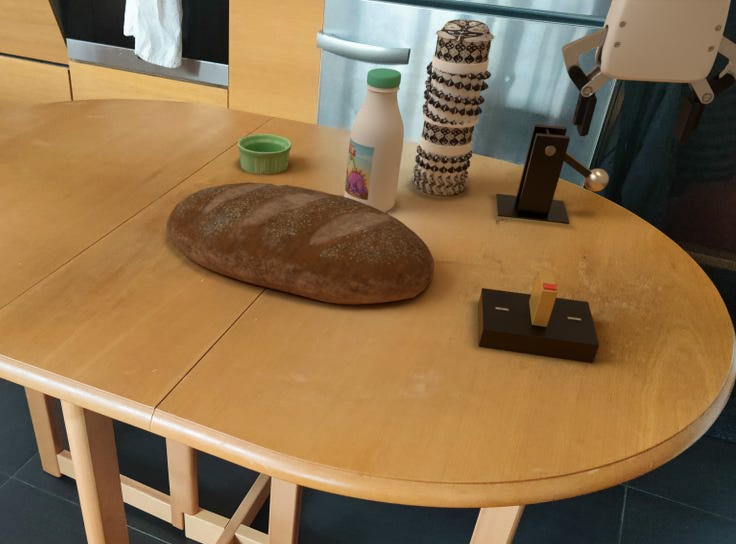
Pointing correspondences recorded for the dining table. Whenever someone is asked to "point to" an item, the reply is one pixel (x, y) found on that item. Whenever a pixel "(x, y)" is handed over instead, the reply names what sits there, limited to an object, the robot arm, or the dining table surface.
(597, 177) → the latch lever
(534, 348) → the plate
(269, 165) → the ramekin
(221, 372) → the dining table surface
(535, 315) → the lock knob
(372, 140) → the milk bottle
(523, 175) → the latch bracket
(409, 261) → the bread
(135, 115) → the dining table surface
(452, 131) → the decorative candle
